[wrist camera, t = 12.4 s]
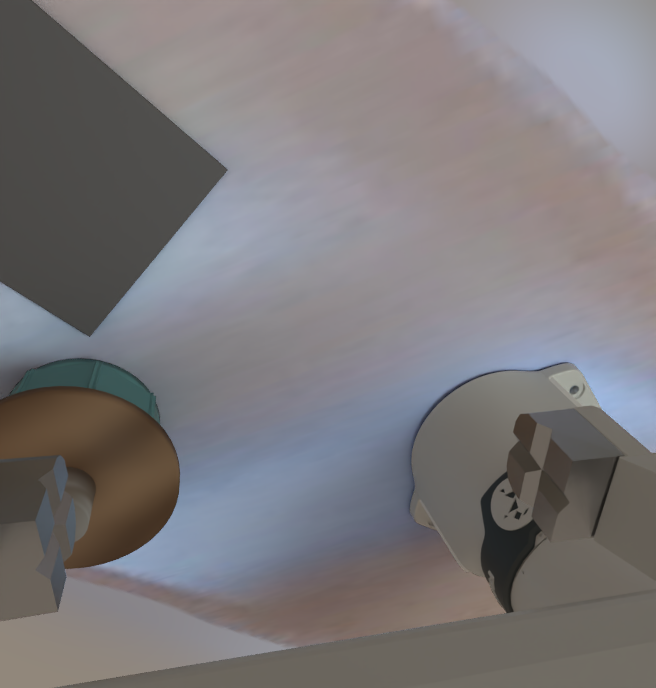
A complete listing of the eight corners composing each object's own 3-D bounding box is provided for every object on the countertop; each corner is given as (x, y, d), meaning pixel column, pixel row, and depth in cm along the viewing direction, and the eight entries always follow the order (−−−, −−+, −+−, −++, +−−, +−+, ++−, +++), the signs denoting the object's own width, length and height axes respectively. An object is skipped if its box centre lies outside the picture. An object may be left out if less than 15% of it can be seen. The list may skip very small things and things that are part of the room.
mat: (226, 169, 35) (227, 170, 35) (90, 334, 38) (89, 336, 38) (7, -21, 29) (4, -22, 29) (-137, 192, 32) (-141, 194, 32)
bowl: (191, 408, 42) (191, 459, 37) (105, 503, 44) (94, 564, 39) (59, 327, 38) (38, 372, 32) (-30, 438, 40) (-64, 497, 34)
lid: (221, 455, 37) (225, 496, 34) (101, 583, 40) (92, 634, 36) (31, 344, 32) (11, 380, 28) (-95, 502, 34) (-128, 554, 31)
